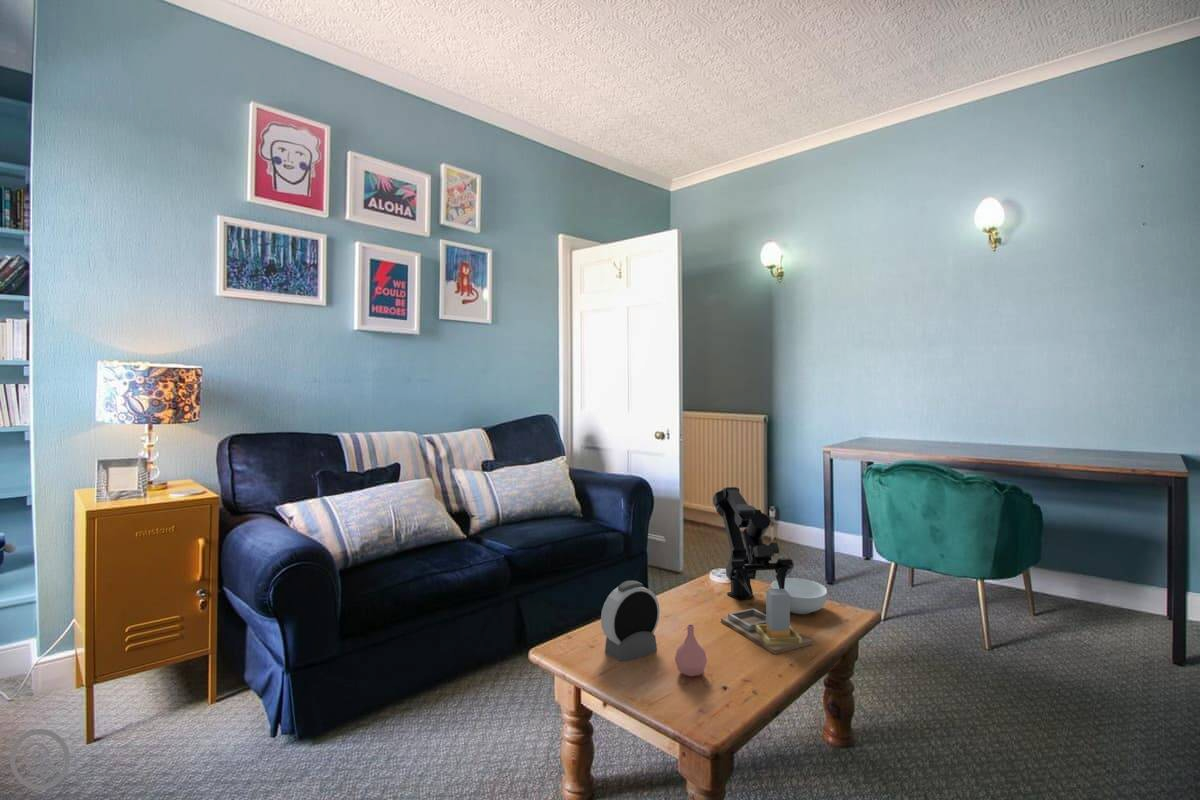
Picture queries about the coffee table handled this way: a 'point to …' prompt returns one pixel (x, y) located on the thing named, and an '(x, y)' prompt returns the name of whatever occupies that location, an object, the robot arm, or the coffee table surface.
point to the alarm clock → (630, 621)
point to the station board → (763, 631)
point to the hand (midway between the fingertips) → (767, 594)
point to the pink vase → (690, 655)
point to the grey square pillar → (777, 613)
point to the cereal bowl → (804, 595)
